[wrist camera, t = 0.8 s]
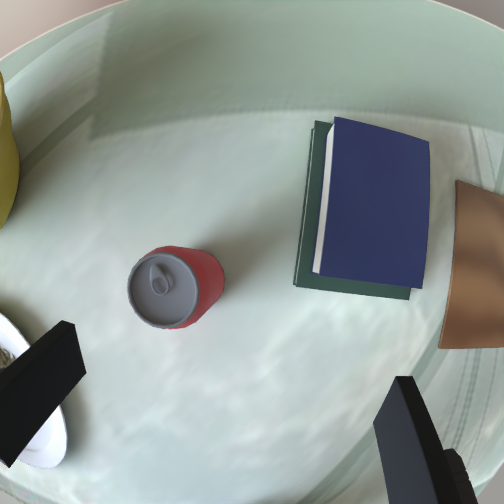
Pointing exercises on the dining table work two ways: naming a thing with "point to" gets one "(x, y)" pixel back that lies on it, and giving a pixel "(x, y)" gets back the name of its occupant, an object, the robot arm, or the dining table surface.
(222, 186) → the dining table surface
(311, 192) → the green notebook
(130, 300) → the beer can
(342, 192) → the navy book
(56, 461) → the plated food
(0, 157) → the planter bowl
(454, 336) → the brown wooden board
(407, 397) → the robot arm
